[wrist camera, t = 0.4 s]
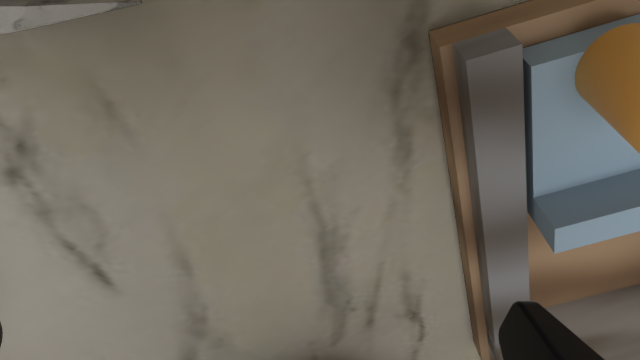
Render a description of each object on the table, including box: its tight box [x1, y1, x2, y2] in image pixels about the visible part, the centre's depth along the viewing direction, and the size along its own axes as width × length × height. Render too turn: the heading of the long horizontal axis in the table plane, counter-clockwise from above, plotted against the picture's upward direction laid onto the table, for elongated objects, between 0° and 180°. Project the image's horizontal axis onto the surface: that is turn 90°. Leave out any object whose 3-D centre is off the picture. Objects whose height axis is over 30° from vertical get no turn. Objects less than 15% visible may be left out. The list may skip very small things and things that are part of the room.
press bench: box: [429, 0, 640, 360], centre depth 25 cm, size 22×12×6 cm, turn 15°
